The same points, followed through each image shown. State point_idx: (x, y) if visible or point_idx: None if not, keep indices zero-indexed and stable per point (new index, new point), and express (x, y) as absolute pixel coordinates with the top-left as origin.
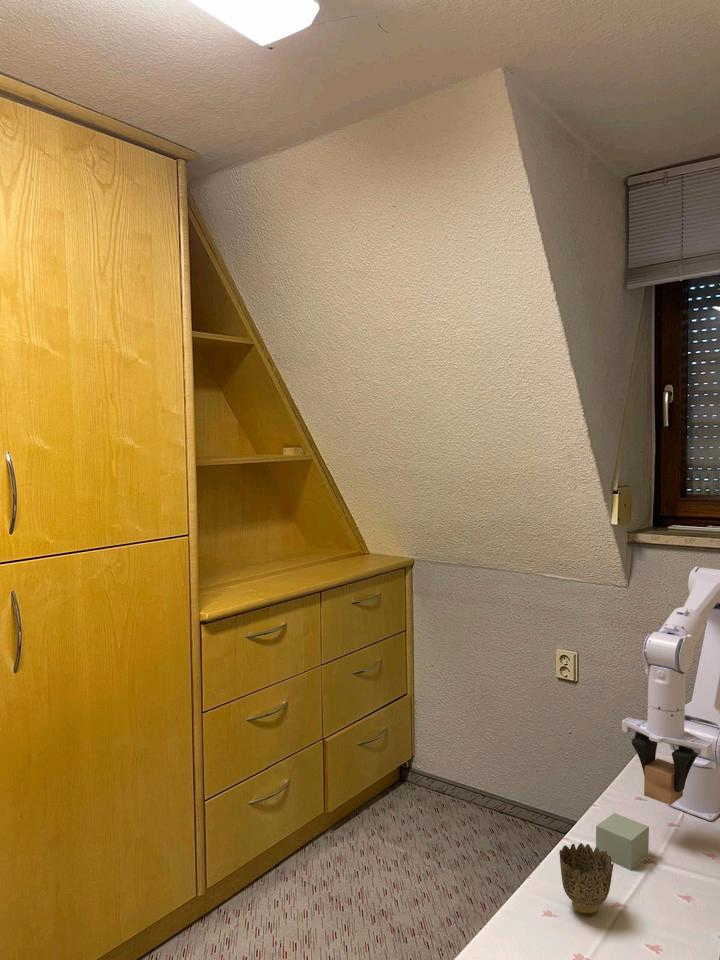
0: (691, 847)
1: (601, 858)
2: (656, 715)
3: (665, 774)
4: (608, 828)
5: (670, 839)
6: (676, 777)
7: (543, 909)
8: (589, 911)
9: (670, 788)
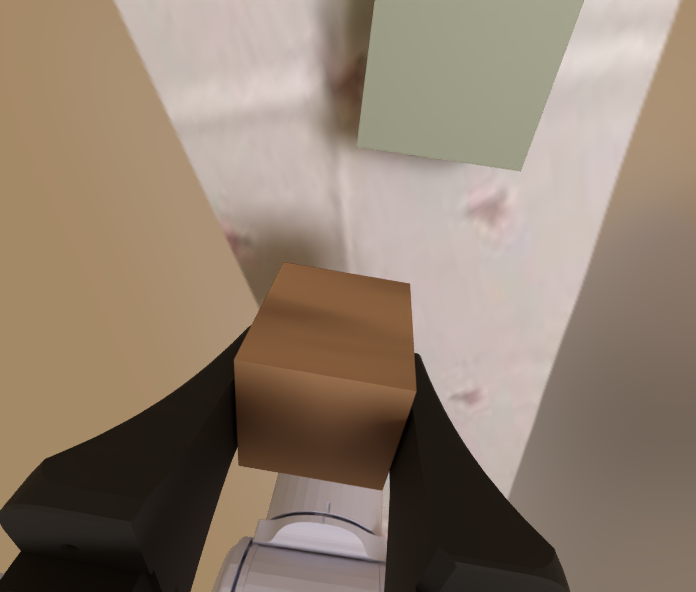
0: (282, 251)
1: None
2: None
3: (273, 363)
4: None
5: (341, 258)
6: (223, 371)
7: None
8: None
9: (262, 309)
